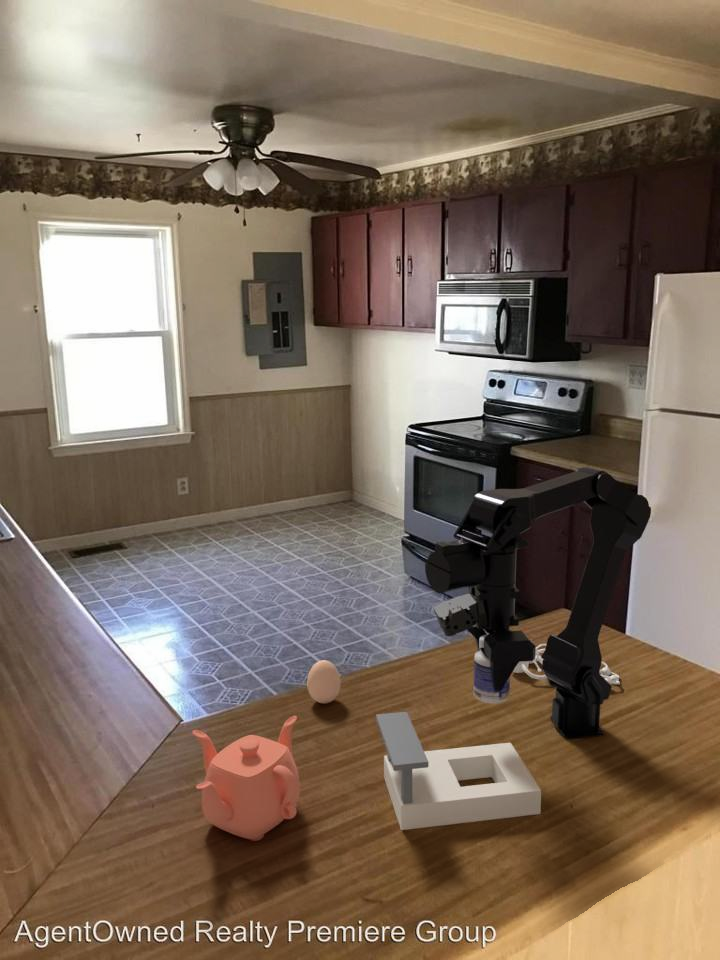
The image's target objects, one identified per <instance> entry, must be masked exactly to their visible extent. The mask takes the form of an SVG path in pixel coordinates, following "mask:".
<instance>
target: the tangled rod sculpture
mask: <svg viewBox="0 0 720 960" xmlns="http://www.w3.org/2000/svg"><path fill="white" fill-rule="evenodd" d="M546 645H547V643H541V644H539V645H538V646H536V651H535V659H534V660H533V661H523V662H519V663H518V664H517V666H516V667H515V669H514V670H513V672H512V673H516V674H522V673H525V674H526V675H528V676H527V677H530V678H532V679H534V680H540V681H541V680H542V681H543V680H547V677H546V676H545V674H543V675H538V674H534V673H532V672H531V671H530V670H529V669H528V668H529V665H531V664H534V665H535V667H536V668H537V672H538V673H542V671H543V670H542V668H540V666H539V665H538V662H539V663H540V664H541V665H542V663H543V659H542V658H541V656H542V655H541V654H543V653H544V651H545V649H546V648H542V647H546ZM540 648H541V649H540ZM601 665H603V666H604V667H603V668H601V669H600V672H599V674H600V675H601V676H602V677H603V678H604V679H605V680H606V681H607V682H608V683H609V684H610V685H611V686H612V685H616V686H618V685H620V684H621V682H620V676H619V674H617V673H615V672H612V671H611V669H610V668H609V665H608V664H607V663H606V662H604V661H602V662H601Z"/></svg>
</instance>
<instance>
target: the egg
mask: <svg viewBox="0 0 720 960" xmlns="http://www.w3.org/2000/svg"><path fill="white" fill-rule="evenodd" d="M341 682H342V681H341V676H340V673H339V671H338V669H337V667H336V666H335V665H334V663H332V662H331V661H329V660H327V659H326V660H325V659H323V660H319V661H317V662H316V663H314V664H313V665H312V667H311V669H310V670H309V673H308V676H307V683H306V684H307V685H306V686H307V691H308V694H309V696H310V697H311V698H312V699H313V700H314V701H315V702H317V703H319V704H328V703H331V702H332V701H334V700H335V699H336V698H337V697H338V695H339V692H340V691H341V686H342V685H341V684H342V683H341Z"/></svg>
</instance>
